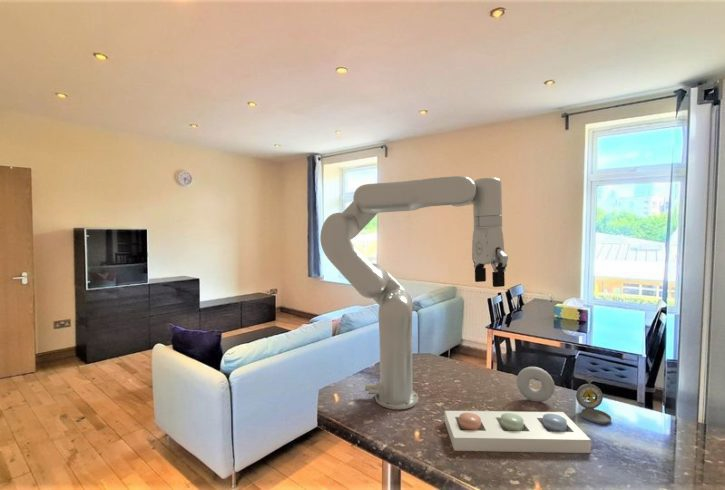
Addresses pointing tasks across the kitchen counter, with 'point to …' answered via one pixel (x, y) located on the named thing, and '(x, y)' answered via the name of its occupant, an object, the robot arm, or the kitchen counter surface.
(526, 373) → the donut
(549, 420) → the slate button
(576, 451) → the console
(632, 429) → the kitchen counter surface
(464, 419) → the terracotta button
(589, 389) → the pocket watch
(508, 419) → the sage button
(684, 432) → the kitchen counter surface
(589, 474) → the kitchen counter surface
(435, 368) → the kitchen counter surface
